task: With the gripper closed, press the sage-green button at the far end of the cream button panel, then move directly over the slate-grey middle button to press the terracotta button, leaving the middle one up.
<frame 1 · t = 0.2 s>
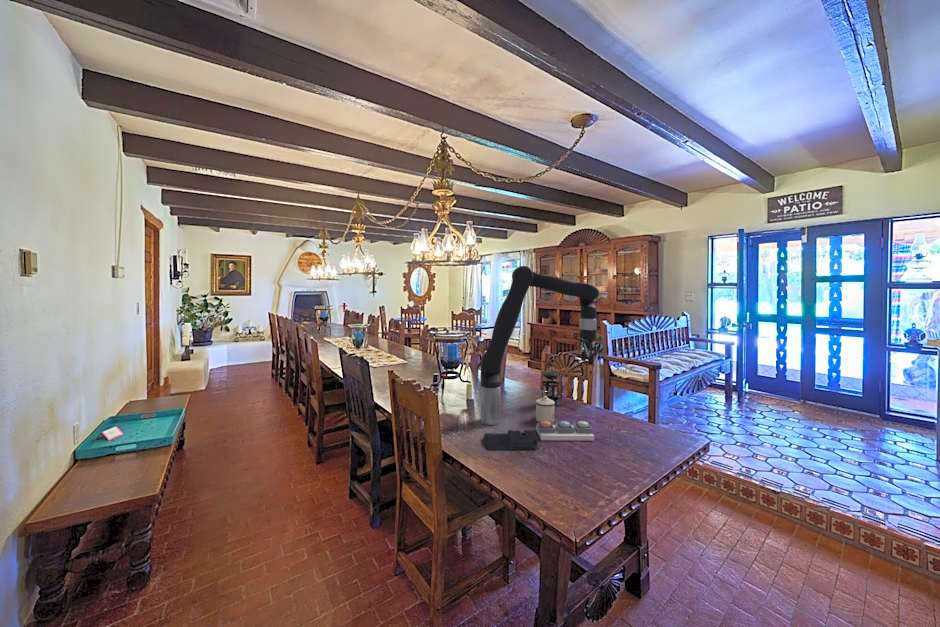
hand: (586, 362, 174), 28 cm above the table, fingers open, 8 cm apart
dark slate chunk: (510, 444, 153), on the table
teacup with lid: (544, 419, 181), on the table
sage button: (582, 425, 161), point 4 cm above the table, slide at 0.0 cm
button panel: (564, 434, 162), on the table
terracotta button: (545, 424, 161), point 4 cm above the table, slide at 0.0 cm
french press: (550, 404, 204), on the table
slate button: (564, 425, 161), point 4 cm above the table, slide at 0.0 cm
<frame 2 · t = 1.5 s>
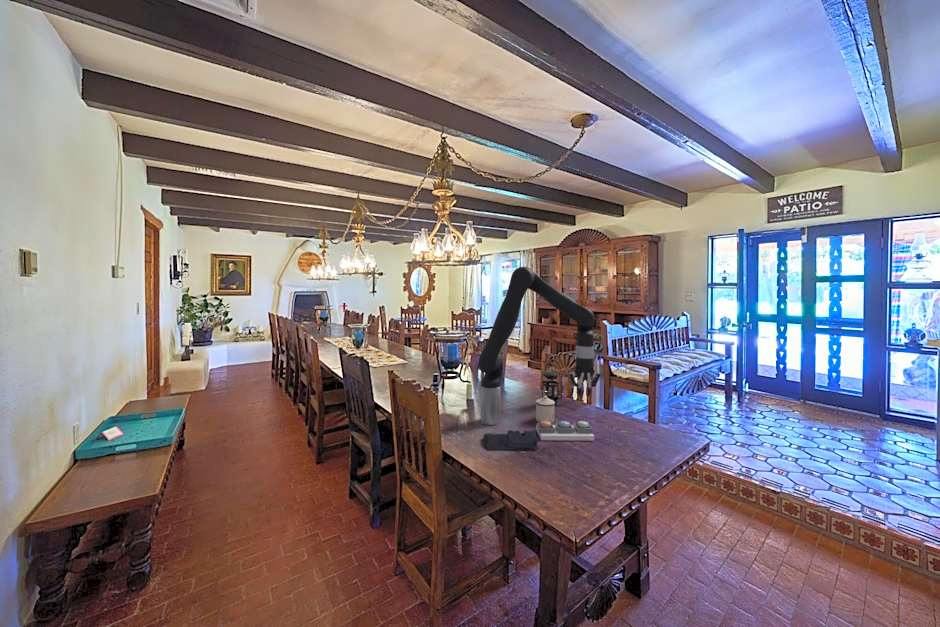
hand: (583, 395, 160), 17 cm above the table, fingers open, 3 cm apart
nothing on the table moved.
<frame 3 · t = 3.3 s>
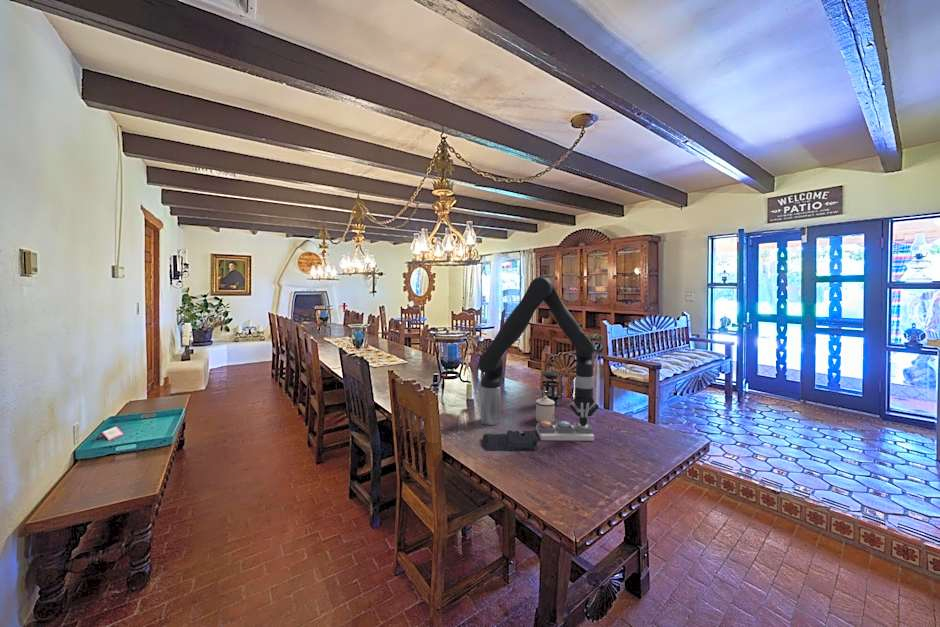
hand: (583, 425, 161), 4 cm above the table, fingers closed
sage button: (582, 427, 161), point 3 cm above the table, slide at 1.1 cm, touching gripper
everything else where it was.
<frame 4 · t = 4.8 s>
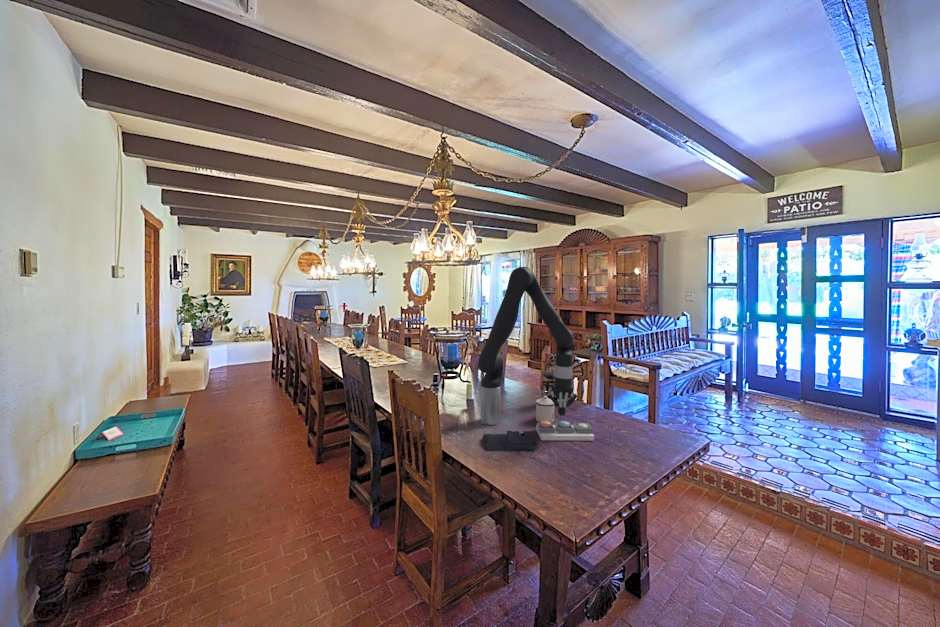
hand: (561, 415, 162), 8 cm above the table, fingers closed
sage button: (582, 427, 161), point 3 cm above the table, slide at 1.1 cm
everything else where it was.
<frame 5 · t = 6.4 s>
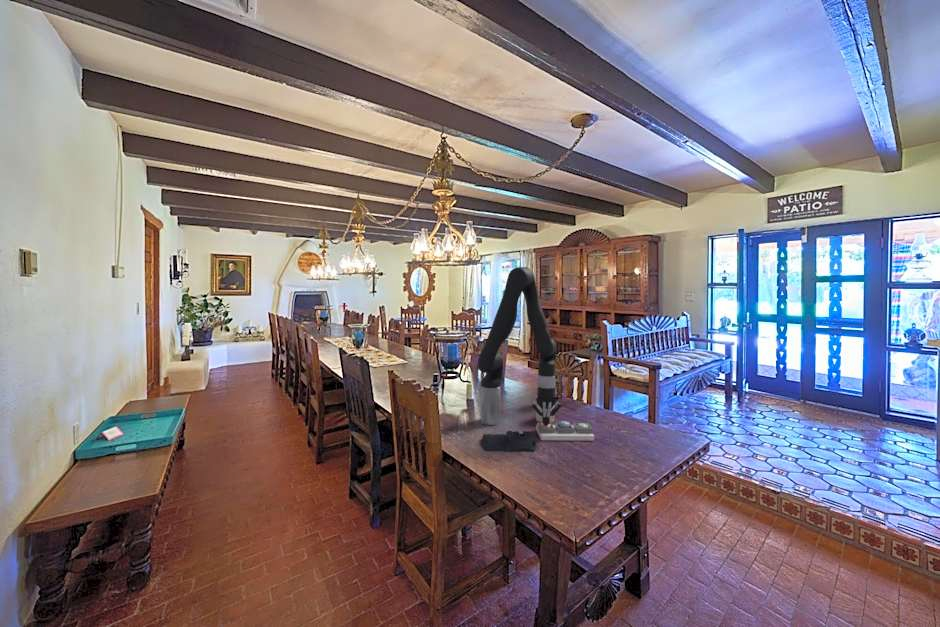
hand: (545, 424, 161), 4 cm above the table, fingers closed
terracotta button: (545, 427, 161), point 3 cm above the table, slide at 1.0 cm, touching gripper
everything else where it was.
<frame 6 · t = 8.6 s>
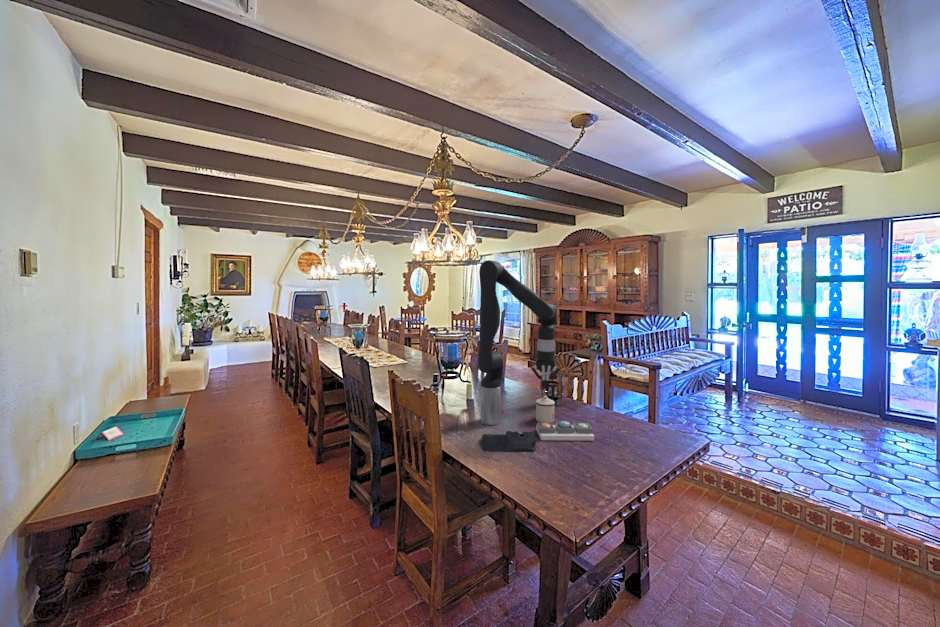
hand: (544, 388, 164), 19 cm above the table, fingers closed
terracotta button: (545, 427, 161), point 3 cm above the table, slide at 1.1 cm
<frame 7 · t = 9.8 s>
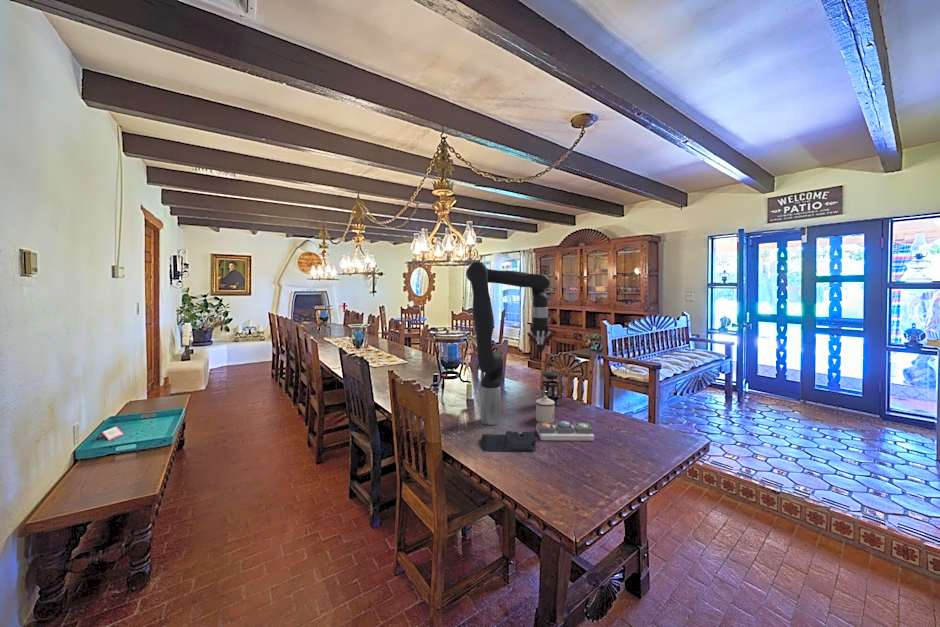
hand: (539, 351, 182), 32 cm above the table, fingers closed
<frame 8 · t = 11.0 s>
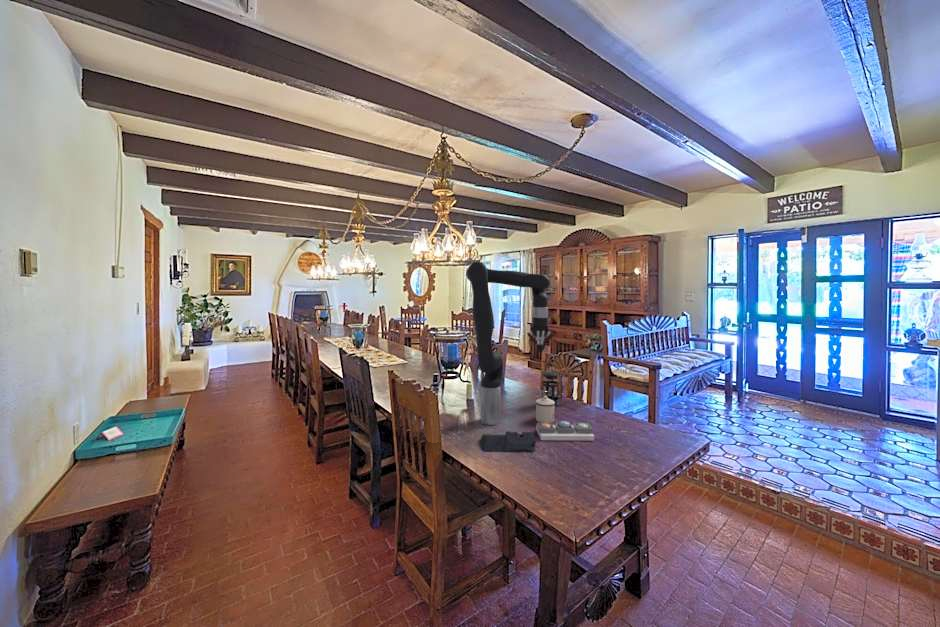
hand: (539, 351, 182), 32 cm above the table, fingers closed
at the end: sage button slide at 1.1 cm; terracotta button slide at 1.1 cm; slate button slide at 0.0 cm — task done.
